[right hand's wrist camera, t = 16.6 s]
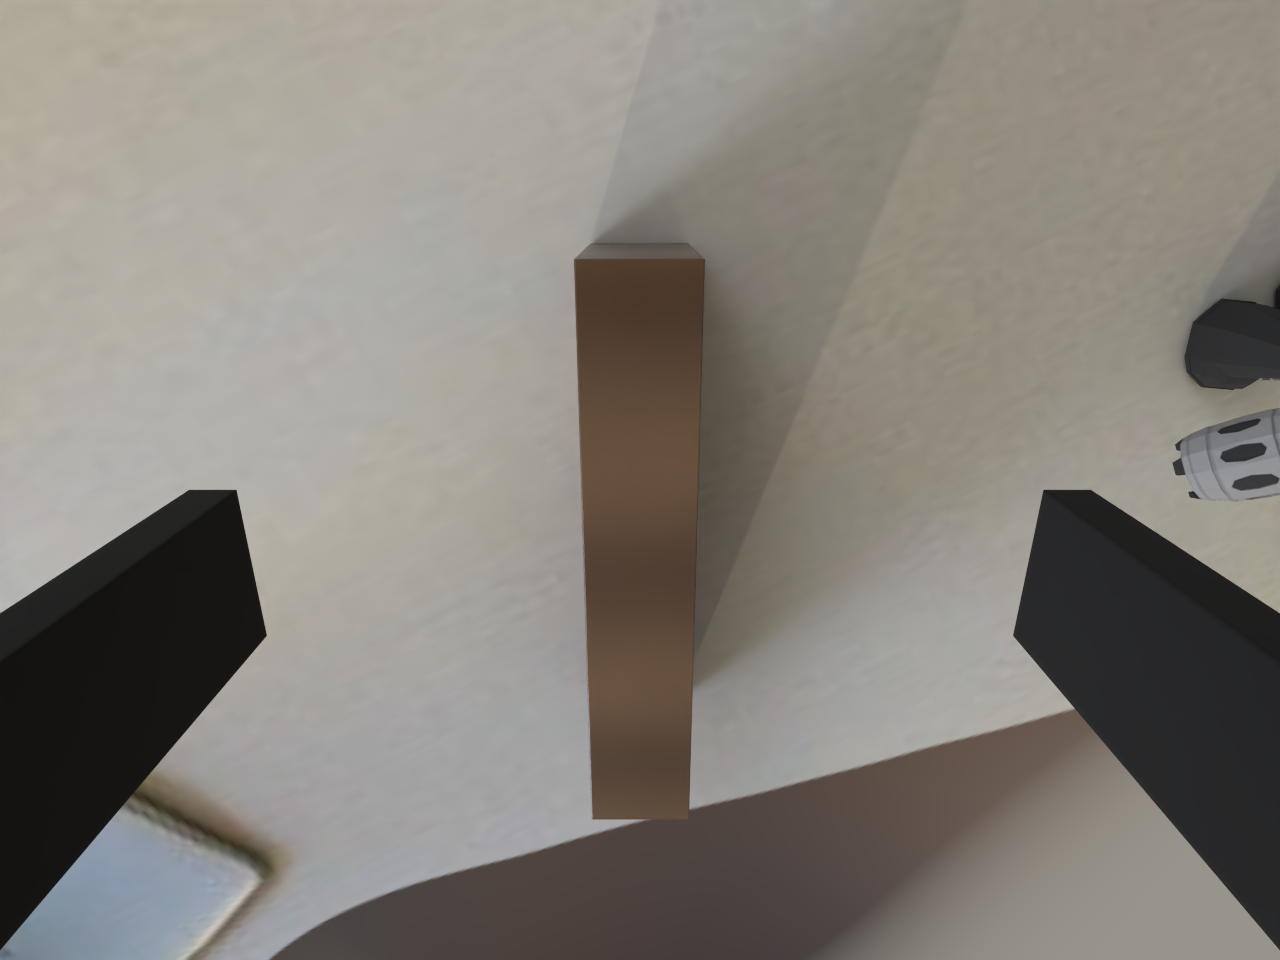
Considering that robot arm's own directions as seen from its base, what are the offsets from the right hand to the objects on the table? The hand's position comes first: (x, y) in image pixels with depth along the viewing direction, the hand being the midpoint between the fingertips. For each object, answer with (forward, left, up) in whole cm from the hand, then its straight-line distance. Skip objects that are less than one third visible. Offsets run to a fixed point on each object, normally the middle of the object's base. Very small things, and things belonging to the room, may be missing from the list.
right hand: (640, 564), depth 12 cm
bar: (+2, +9, -24) cm, 26 cm away
